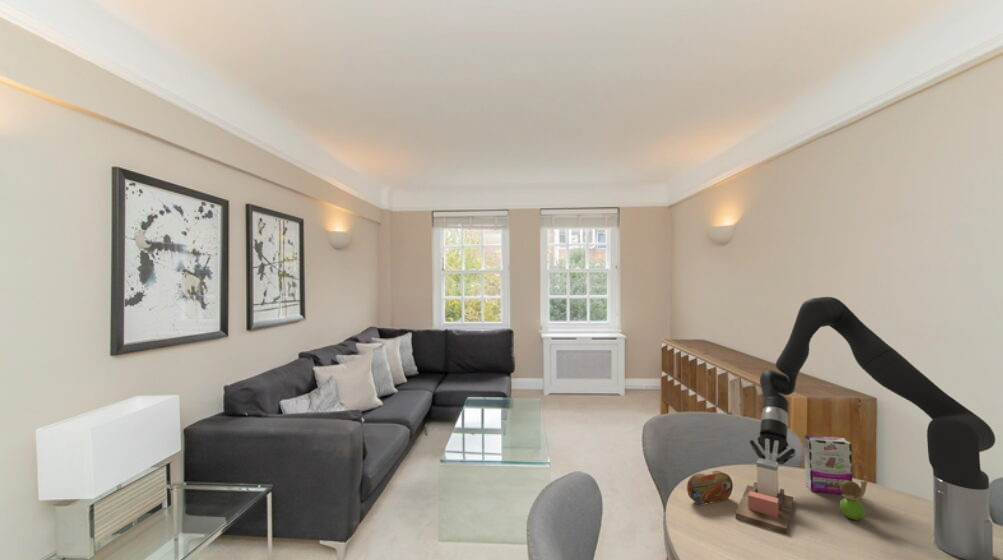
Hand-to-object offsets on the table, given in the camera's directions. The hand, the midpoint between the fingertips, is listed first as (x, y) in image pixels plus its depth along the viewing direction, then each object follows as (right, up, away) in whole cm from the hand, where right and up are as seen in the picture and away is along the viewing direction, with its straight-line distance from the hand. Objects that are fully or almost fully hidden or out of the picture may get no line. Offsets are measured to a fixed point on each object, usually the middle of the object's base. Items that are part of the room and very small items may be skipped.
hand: (770, 473), depth 129 cm
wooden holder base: (-7, -6, -9) cm, 13 cm away
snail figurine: (+15, -6, -14) cm, 21 cm away
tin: (-20, -7, -3) cm, 22 cm away
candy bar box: (+20, -6, +2) cm, 21 cm away
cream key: (-3, -5, -4) cm, 7 cm away
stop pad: (-9, -5, -12) cm, 16 cm away
